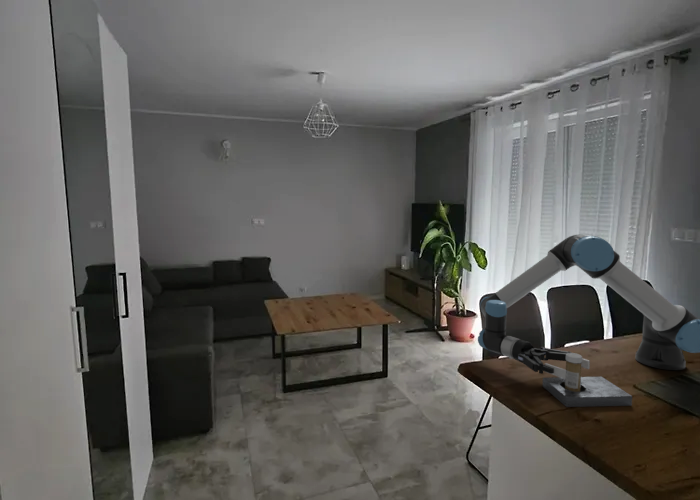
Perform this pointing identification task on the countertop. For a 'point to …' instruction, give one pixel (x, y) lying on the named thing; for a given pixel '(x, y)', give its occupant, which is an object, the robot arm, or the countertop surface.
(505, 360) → the countertop surface
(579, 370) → the sprinkles bottle
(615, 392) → the jig
